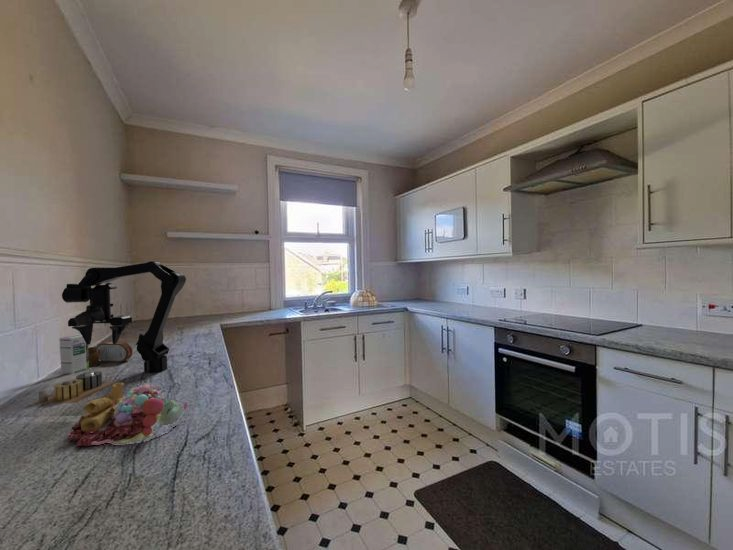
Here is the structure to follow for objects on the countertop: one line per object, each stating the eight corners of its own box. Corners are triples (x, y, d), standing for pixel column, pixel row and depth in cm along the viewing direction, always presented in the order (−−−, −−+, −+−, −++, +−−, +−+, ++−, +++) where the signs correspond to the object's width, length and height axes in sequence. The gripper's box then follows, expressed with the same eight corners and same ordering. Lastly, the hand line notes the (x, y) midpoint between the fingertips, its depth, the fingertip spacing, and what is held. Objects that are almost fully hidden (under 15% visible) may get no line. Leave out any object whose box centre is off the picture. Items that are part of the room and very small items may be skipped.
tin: (133, 360, 134) (132, 341, 134) (126, 363, 131) (126, 343, 130) (101, 360, 135) (100, 340, 135) (94, 362, 132) (93, 342, 132)
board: (118, 385, 106) (117, 368, 106) (76, 406, 90) (76, 386, 90) (81, 386, 105) (80, 369, 105) (33, 407, 89) (32, 387, 89)
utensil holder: (87, 368, 124) (86, 338, 124) (75, 367, 125) (74, 337, 125) (102, 363, 130) (101, 335, 129) (90, 362, 131) (89, 334, 131)
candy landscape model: (41, 455, 67) (39, 413, 67) (111, 406, 90) (110, 375, 90) (167, 443, 71) (166, 403, 71) (203, 399, 94) (202, 369, 94)
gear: (107, 382, 105) (106, 369, 105) (91, 390, 99) (91, 376, 98) (87, 383, 104) (87, 370, 104) (71, 390, 98) (70, 376, 98)
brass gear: (88, 391, 97) (88, 379, 97) (70, 400, 91) (70, 386, 91) (67, 392, 97) (67, 379, 97) (48, 400, 91) (48, 387, 91)
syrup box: (72, 377, 114) (71, 337, 114) (60, 375, 115) (59, 337, 115) (89, 371, 120) (88, 334, 119) (77, 370, 121) (76, 333, 121)
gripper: (52, 305, 105) (54, 350, 105) (109, 304, 106) (111, 349, 106) (80, 301, 116) (82, 342, 117) (132, 300, 117) (133, 341, 117)
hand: (101, 344), depth 114 cm, fingers open, 9 cm apart
